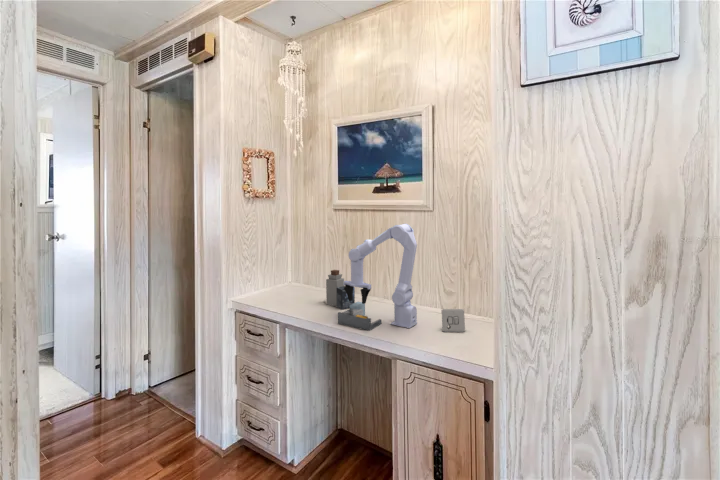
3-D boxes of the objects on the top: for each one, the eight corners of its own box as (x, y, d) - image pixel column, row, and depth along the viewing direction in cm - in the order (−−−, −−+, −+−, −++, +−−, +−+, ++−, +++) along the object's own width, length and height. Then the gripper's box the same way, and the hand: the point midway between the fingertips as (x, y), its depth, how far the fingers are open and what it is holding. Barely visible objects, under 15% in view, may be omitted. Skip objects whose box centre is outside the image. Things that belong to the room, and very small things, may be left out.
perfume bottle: (344, 303, 197) (344, 270, 195) (337, 306, 191) (336, 272, 189) (334, 301, 201) (333, 268, 199) (326, 304, 195) (325, 270, 193)
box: (342, 310, 185) (341, 289, 184) (336, 307, 190) (335, 287, 189) (355, 307, 190) (354, 287, 188) (349, 304, 194) (349, 285, 193)
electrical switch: (442, 332, 154) (442, 310, 154) (440, 329, 159) (440, 307, 159) (465, 332, 153) (465, 310, 153) (462, 329, 158) (462, 307, 158)
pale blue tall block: (365, 314, 178) (364, 302, 177) (356, 318, 172) (356, 306, 171) (358, 313, 180) (358, 301, 179) (349, 317, 174) (349, 305, 173)
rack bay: (381, 323, 164) (381, 311, 164) (369, 330, 156) (369, 318, 155) (350, 317, 174) (350, 306, 173) (337, 323, 165) (337, 311, 164)
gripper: (339, 273, 174) (339, 301, 176) (365, 277, 166) (365, 306, 168) (348, 271, 180) (348, 298, 181) (373, 274, 172) (373, 302, 174)
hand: (357, 302), depth 175 cm, fingers open, 7 cm apart
